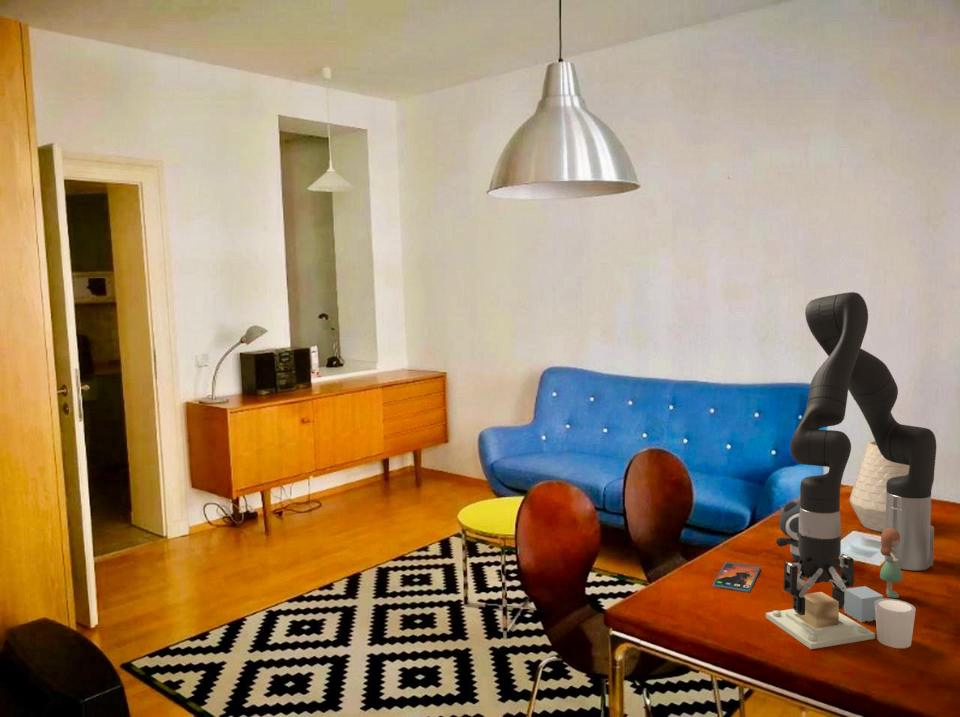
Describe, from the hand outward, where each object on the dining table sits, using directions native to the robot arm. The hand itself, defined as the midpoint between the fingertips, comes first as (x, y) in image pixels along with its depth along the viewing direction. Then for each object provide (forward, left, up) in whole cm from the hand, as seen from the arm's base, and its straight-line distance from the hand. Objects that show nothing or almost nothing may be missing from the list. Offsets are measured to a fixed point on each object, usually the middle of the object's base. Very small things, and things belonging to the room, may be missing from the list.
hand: (818, 610), depth 149 cm
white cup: (-10, +9, -4) cm, 14 cm away
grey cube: (-12, -2, -4) cm, 13 cm away
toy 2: (-24, -8, -4) cm, 26 cm away
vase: (-56, -46, -4) cm, 73 cm away
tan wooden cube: (0, 0, -2) cm, 2 cm away
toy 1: (-19, -31, -4) cm, 37 cm away
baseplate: (0, 0, -3) cm, 3 cm away
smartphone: (+1, -27, -4) cm, 27 cm away
